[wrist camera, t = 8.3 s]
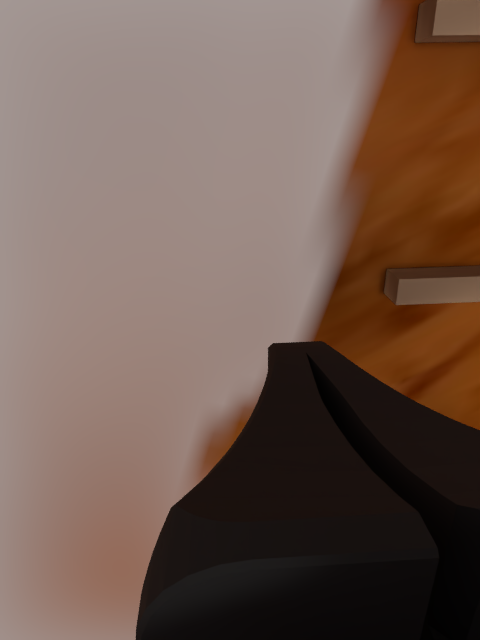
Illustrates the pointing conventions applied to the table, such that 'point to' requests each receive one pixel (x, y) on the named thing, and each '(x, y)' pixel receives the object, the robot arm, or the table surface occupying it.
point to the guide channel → (440, 282)
